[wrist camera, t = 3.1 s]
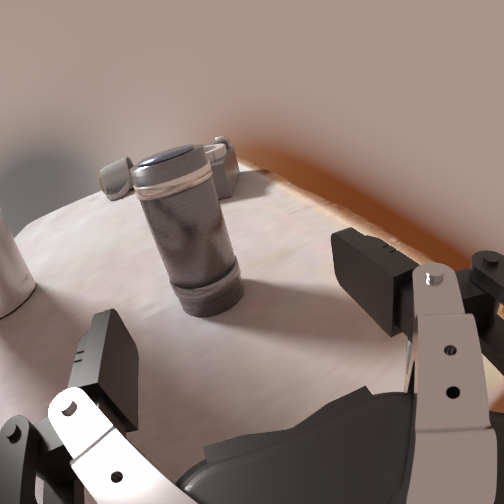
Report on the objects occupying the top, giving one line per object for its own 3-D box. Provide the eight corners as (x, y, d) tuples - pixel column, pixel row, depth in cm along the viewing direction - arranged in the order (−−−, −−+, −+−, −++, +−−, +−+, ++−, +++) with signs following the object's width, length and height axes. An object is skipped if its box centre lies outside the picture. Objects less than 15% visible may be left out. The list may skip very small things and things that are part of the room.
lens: (173, 321, 22) (113, 175, 17) (188, 281, 27) (144, 155, 21) (242, 313, 21) (194, 151, 16) (247, 271, 26) (210, 137, 21)
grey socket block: (167, 211, 46) (152, 165, 42) (188, 183, 58) (177, 147, 55) (231, 196, 44) (218, 148, 41) (239, 171, 56) (230, 133, 53)
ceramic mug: (110, 193, 72) (100, 165, 68) (140, 182, 73) (130, 153, 69) (101, 206, 63) (89, 174, 59) (135, 194, 63) (123, 161, 60)
